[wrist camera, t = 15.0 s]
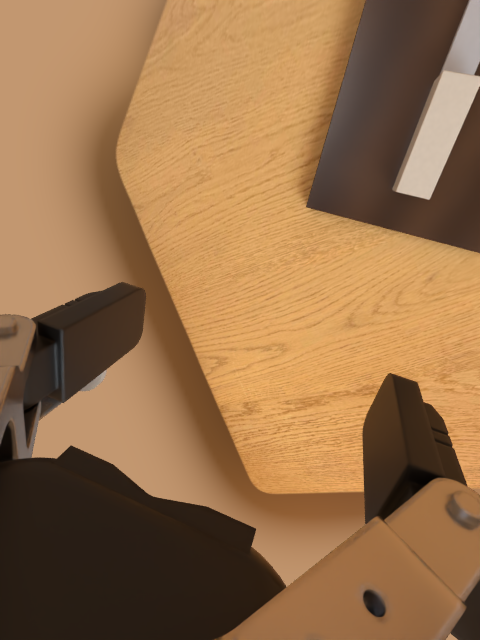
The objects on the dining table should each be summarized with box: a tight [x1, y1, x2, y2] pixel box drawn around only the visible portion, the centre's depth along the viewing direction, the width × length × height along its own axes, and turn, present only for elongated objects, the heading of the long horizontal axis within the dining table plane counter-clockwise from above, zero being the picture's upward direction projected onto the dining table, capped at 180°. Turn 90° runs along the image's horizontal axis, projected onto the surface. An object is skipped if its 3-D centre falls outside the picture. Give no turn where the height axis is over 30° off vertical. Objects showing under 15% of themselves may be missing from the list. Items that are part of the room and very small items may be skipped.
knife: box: [392, 0, 480, 200], centre depth 24 cm, size 18×3×3 cm, turn 167°
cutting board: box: [306, 0, 480, 253], centre depth 26 cm, size 16×24×2 cm, turn 167°
